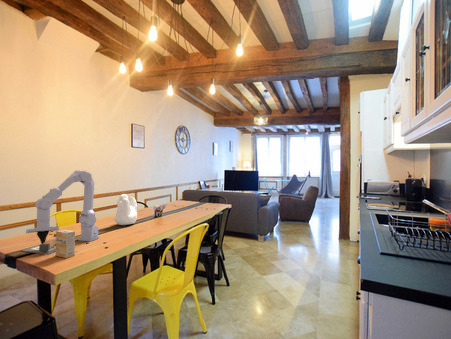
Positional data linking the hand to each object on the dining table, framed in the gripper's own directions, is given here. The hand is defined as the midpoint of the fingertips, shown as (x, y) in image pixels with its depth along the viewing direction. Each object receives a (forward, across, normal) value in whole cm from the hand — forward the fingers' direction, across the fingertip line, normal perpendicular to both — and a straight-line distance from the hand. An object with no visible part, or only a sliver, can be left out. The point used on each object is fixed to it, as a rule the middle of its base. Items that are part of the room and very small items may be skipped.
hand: (43, 244), depth 133 cm
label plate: (+3, -1, -1) cm, 3 cm away
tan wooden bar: (+2, -3, -1) cm, 4 cm away
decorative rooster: (+3, -50, -45) cm, 67 cm away
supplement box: (+3, -12, +16) cm, 20 cm away
